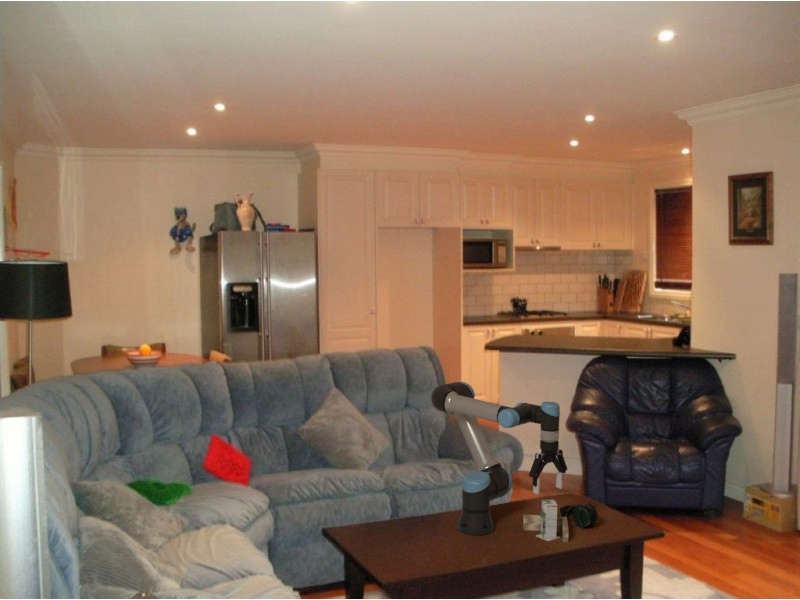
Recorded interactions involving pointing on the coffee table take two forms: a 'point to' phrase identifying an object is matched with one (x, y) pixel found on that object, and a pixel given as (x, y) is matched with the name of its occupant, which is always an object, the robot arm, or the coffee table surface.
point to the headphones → (580, 514)
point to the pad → (547, 538)
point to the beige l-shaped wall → (535, 524)
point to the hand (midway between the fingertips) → (547, 490)
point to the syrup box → (549, 518)
